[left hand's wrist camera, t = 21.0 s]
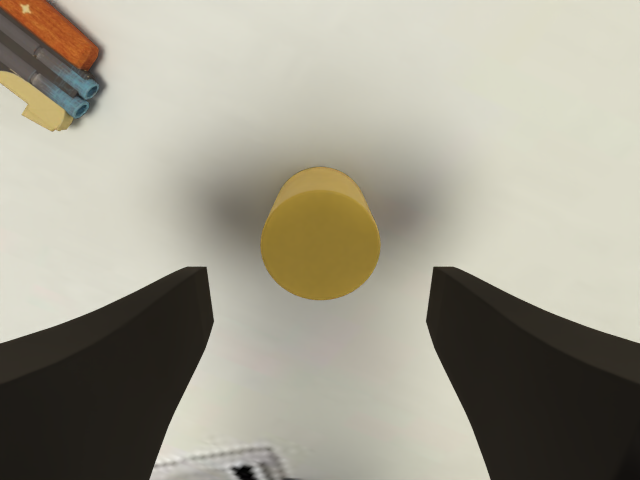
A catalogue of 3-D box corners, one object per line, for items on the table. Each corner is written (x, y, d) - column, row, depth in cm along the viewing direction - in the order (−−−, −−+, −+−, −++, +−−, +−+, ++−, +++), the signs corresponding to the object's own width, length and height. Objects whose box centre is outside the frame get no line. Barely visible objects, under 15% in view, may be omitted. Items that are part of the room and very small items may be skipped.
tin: (375, 238, 19) (393, 282, 14) (293, 263, 19) (285, 313, 15) (350, 153, 17) (361, 172, 13) (261, 184, 18) (240, 213, 13)
